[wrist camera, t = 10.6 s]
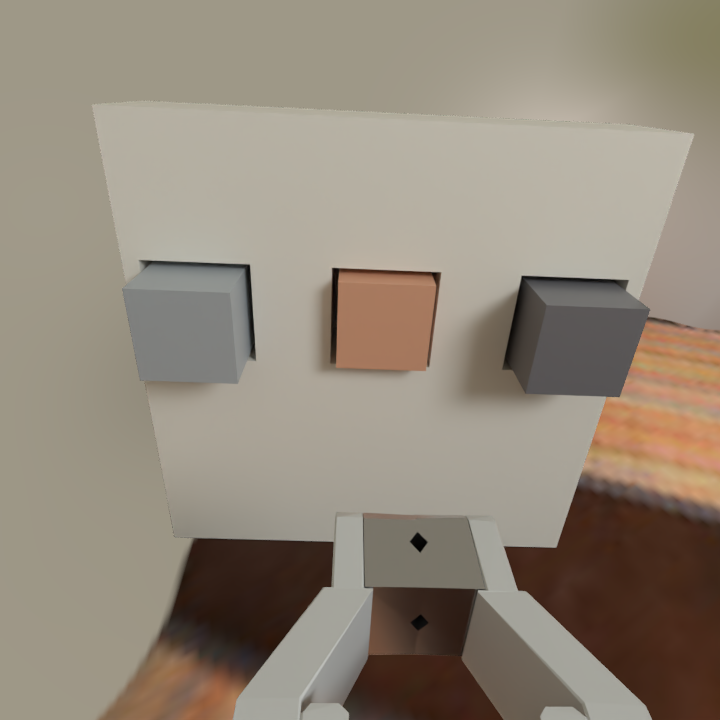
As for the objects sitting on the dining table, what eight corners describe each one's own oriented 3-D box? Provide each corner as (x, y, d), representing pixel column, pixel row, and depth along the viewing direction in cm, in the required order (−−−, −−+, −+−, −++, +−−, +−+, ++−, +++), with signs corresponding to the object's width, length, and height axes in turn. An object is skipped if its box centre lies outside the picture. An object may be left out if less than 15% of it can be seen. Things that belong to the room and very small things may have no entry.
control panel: (556, 547, 29) (694, 133, 18) (174, 537, 28) (91, 104, 18) (529, 486, 33) (629, 124, 23) (198, 476, 33) (143, 100, 22)
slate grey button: (238, 383, 21) (230, 292, 19) (140, 380, 21) (121, 288, 19) (255, 340, 24) (250, 260, 22) (171, 337, 24) (159, 256, 22)
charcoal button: (619, 397, 21) (650, 309, 19) (525, 393, 21) (546, 305, 19) (582, 352, 25) (604, 274, 23) (501, 349, 24) (517, 271, 23)
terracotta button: (425, 371, 22) (436, 286, 20) (336, 367, 22) (338, 282, 20) (416, 332, 26) (424, 256, 24) (338, 329, 26) (341, 253, 24)
